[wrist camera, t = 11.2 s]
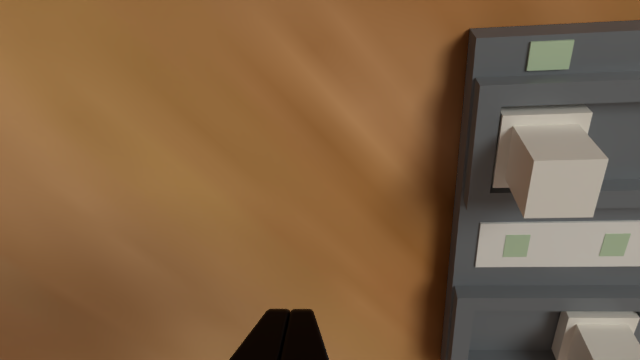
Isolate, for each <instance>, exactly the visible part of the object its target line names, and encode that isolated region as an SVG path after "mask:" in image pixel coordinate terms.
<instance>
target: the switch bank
mask: <svg viewBox="0 0 640 360" xmlns="http://www.w3.org/2000/svg"><path fill="white" fill-rule="evenodd" d="M565 104H585V105H586V106H587V107H588V108H589V109H590V110H591V111H592V112H593V114H592V118H591V122H590V127H589V131H588V136H589V137H590V138H591V139H592V140H593V141H594V143H595V144H596V145H597V146H598V147H599V148H600V149H601V151H602V152H603V153H604V154H605V155H606V156H607V158H608V159H609V160H608V164H607V168H606V171H605V175H604V179H603V182H602V186H601V190H600V193H599V197H598V201H597V204H596V208H595V212H594V215H593V217H584V218H523V216H522V214H521V211H520V209H519V207H518V205H517V203H516V201H515V199H514V197H513V194H512V192H511V190H510V188H493V187H492V185H491V181H492V174H493V166H494V159H495V151H496V143H497V136H498V128H499V121H500V113H501V107H508V106H536V105H565ZM561 311H616V312H636V313H637V314H638V316H639V317H640V20H634V21H614V22H594V23H574V24H554V25H534V26H514V27H494V28H474V29H470V32H469V43H468V54H467V65H466V77H465V88H464V99H463V110H462V122H461V133H460V144H459V155H458V167H457V178H456V189H455V200H454V211H453V223H452V234H451V245H450V256H449V268H448V279H447V290H446V301H445V313H444V324H443V335H442V346H441V358H440V359H441V360H556V359H555V356H554V354H553V351H552V349H551V348H552V344H553V340H554V336H555V332H556V329H557V325H558V321H559V317H560V313H561ZM634 335H635V337H636V339H637V340H638V342H639V344H640V319H639V322H638V324H637V327H636V330H635V332H634Z"/></svg>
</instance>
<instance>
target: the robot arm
mask: <svg viewBox="0 0 640 360" xmlns="http://www.w3.org/2000/svg"><path fill="white" fill-rule="evenodd" d="M229 360H329V358H328V355H327V352H326V349H325V346H324V343H323V340H322V336H321V333H320V330H319V327H318V324H317V321H316V318H315V315H314V312H313V311H312V310H311V309H293V310H292V311H291V312H290V310H288V309H269V310H267V311H266V312H265V314H264V315H263V316H262V318H261V319H260V320H259V322H258V323H257V324H256V326H255V327H254V328H253V329H252V331H251V332H250V333H249V335H248V336H247V337H246V339H245V340H244V341H243V342H242V344H241V345H240V346H239V348H238V349H237V350H236V352H235V353H234V354H233V356H232V357H231V358H230V359H229Z"/></svg>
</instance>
